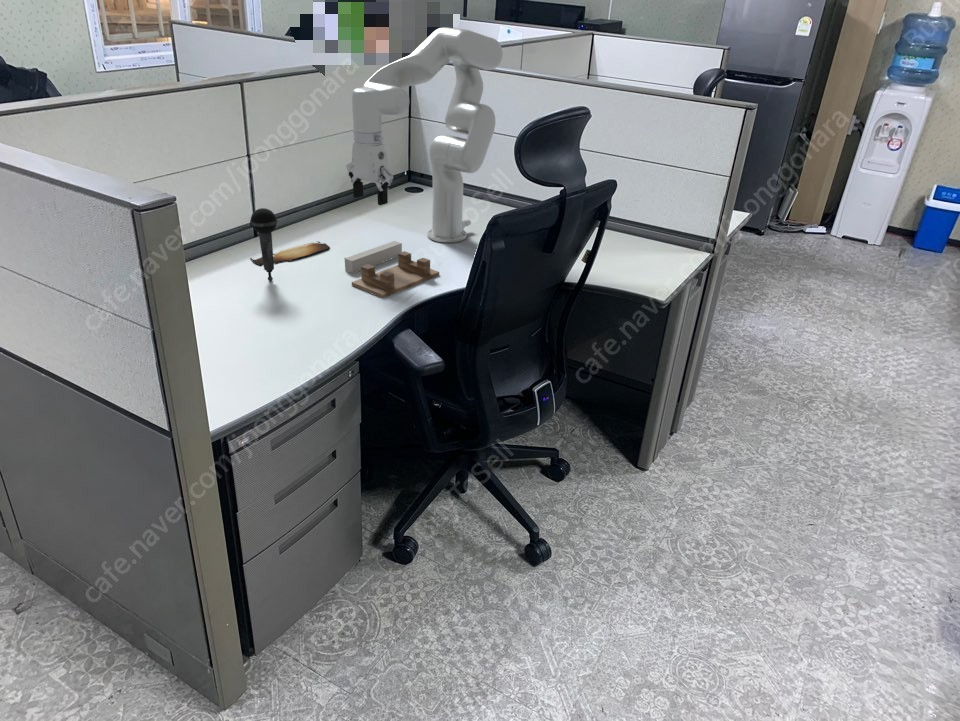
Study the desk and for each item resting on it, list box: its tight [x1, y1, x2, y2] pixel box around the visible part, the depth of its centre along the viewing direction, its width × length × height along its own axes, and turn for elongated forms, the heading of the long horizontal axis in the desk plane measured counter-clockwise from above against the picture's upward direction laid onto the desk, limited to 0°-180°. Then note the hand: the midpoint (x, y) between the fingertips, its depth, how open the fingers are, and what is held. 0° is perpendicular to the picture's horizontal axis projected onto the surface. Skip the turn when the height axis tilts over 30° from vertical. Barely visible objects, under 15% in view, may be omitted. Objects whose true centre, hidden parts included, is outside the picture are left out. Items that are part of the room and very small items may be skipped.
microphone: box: [249, 208, 278, 282], centre depth 190 cm, size 7×7×20 cm
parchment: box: [249, 240, 331, 267], centre depth 213 cm, size 25×10×1 cm, turn 135°
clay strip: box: [344, 240, 403, 274], centre depth 209 cm, size 20×3×4 cm, turn 142°
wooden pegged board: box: [351, 250, 440, 299], centre depth 197 cm, size 22×12×5 cm, turn 141°
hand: (370, 200), depth 200 cm, fingers open, 9 cm apart
